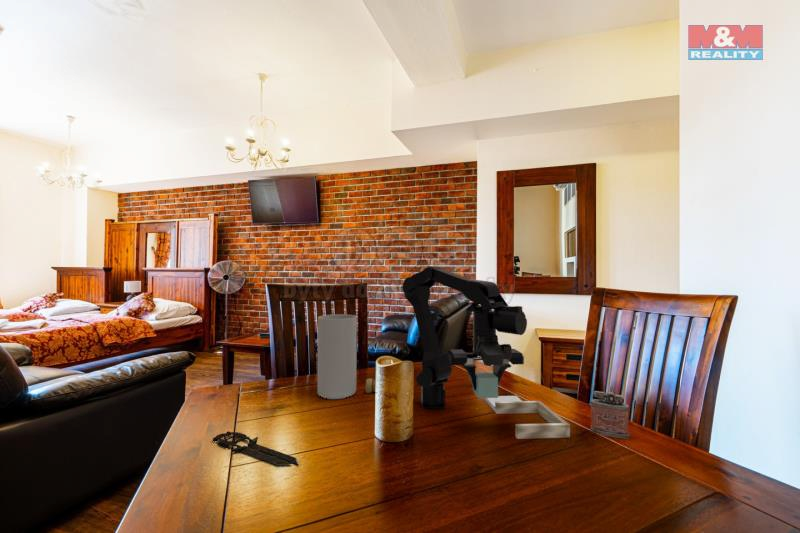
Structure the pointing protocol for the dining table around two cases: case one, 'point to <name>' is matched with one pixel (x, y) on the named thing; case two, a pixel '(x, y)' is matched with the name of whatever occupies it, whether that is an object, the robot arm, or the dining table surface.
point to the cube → (486, 385)
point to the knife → (257, 448)
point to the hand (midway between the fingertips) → (484, 390)
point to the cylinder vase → (337, 356)
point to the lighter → (609, 415)
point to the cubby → (527, 431)
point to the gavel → (370, 385)
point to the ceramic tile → (501, 400)
